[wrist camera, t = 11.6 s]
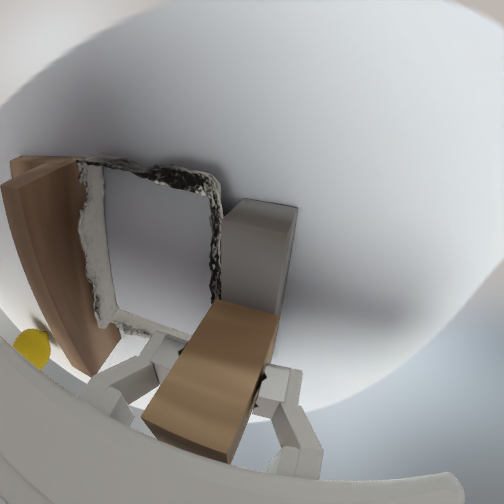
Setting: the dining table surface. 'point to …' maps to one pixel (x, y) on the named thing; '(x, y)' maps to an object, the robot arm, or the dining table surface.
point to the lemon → (34, 346)
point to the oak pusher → (229, 337)
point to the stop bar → (57, 254)
